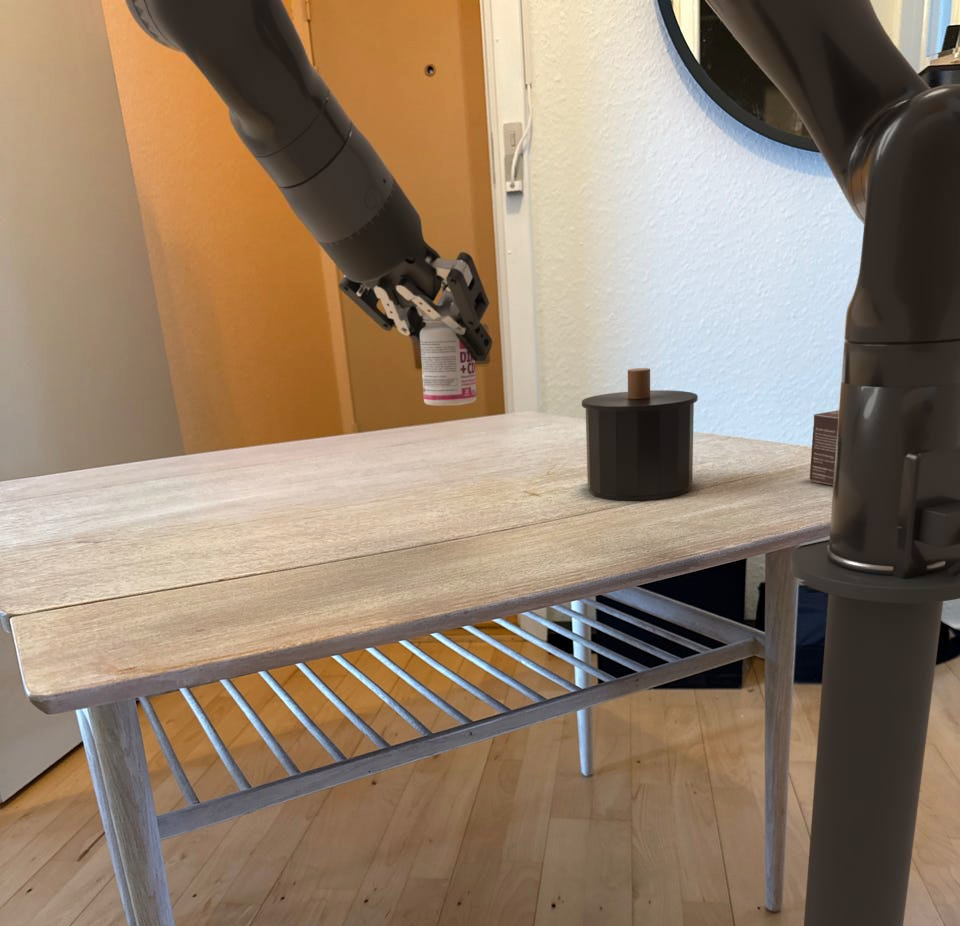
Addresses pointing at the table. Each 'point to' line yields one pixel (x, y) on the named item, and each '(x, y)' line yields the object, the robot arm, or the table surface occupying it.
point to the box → (824, 447)
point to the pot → (640, 453)
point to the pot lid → (639, 396)
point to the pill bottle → (445, 365)
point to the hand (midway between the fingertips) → (461, 353)
